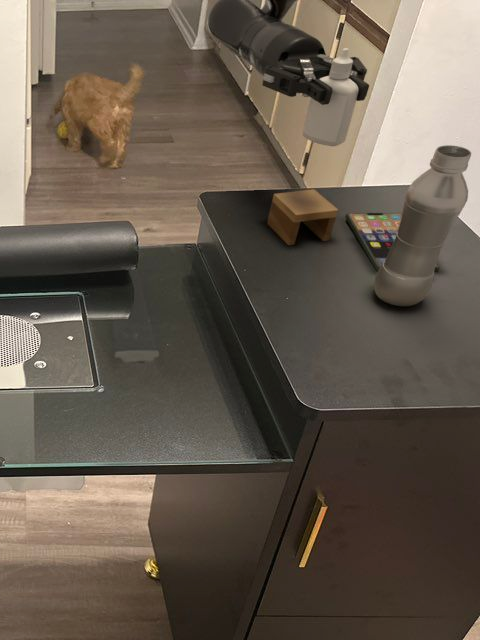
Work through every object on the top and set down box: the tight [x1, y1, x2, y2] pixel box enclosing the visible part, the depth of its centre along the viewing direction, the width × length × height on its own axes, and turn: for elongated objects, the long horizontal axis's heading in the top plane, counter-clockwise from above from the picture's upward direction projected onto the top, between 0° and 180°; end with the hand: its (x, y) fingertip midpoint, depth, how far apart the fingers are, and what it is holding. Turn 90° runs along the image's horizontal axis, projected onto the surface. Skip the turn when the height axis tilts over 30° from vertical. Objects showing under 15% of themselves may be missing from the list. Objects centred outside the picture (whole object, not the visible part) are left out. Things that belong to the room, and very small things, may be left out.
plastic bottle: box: [373, 144, 472, 307], centre depth 89 cm, size 6×7×20 cm
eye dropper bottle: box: [302, 47, 359, 147], centre depth 97 cm, size 4×6×12 cm
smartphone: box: [345, 212, 440, 272], centre depth 106 cm, size 8×15×1 cm, turn 175°
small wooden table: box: [266, 188, 339, 246], centre depth 108 cm, size 6×7×5 cm
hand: (346, 95), depth 94 cm, fingers closed on eye dropper bottle, 4 cm apart
